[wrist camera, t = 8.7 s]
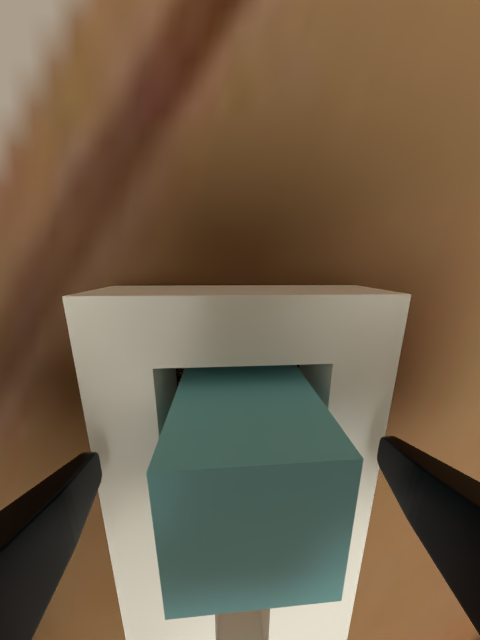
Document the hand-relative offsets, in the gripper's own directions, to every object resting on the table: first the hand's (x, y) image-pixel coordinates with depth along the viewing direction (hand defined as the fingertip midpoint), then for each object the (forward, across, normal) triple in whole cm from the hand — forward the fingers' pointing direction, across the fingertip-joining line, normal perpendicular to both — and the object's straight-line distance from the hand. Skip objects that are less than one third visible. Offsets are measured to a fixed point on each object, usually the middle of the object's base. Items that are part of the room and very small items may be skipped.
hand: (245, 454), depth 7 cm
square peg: (+4, 0, 0) cm, 4 cm away
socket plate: (+4, 0, +5) cm, 6 cm away
